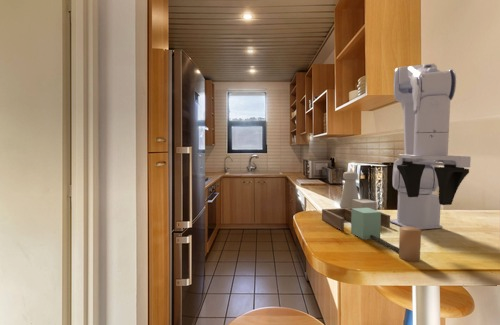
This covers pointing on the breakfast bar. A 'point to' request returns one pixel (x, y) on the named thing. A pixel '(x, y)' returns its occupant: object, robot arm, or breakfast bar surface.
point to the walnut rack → (346, 217)
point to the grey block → (364, 204)
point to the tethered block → (368, 227)
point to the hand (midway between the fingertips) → (428, 200)
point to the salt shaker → (349, 189)
